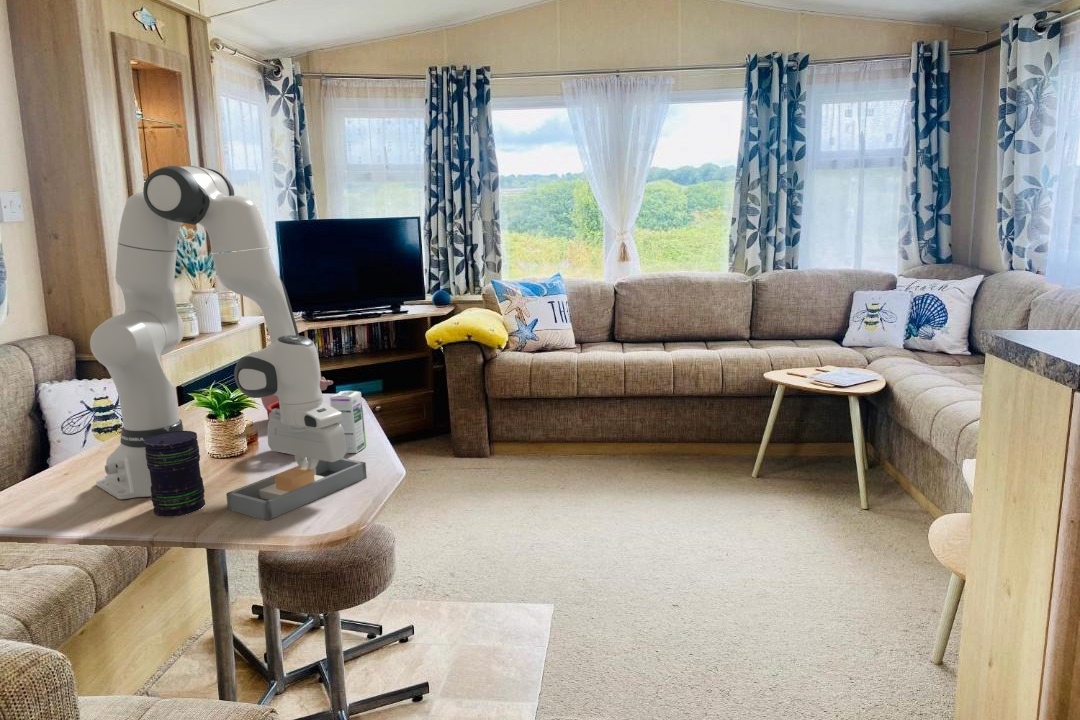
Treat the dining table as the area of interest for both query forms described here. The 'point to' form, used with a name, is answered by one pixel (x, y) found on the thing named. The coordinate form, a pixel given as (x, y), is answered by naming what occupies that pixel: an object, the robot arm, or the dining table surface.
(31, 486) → the dining table surface
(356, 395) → the syrup box
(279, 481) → the wooden block
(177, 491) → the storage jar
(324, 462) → the tray box
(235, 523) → the dining table surface
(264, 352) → the robot arm
